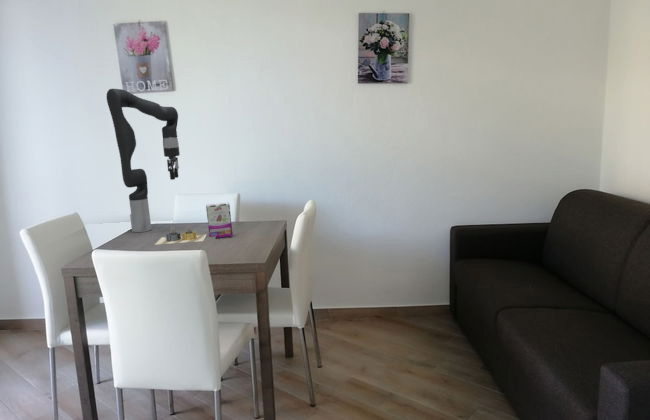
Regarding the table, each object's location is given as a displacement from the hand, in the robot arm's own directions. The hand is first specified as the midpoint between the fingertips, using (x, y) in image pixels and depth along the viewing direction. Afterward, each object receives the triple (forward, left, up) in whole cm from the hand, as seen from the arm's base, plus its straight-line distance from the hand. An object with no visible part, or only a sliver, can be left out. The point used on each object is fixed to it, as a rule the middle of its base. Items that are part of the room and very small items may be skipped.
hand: (174, 178), depth 240 cm
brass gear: (+9, -23, -27) cm, 36 cm away
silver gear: (+1, -23, -27) cm, 35 cm away
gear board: (+5, -23, -28) cm, 37 cm away
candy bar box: (+23, -19, -28) cm, 41 cm away
